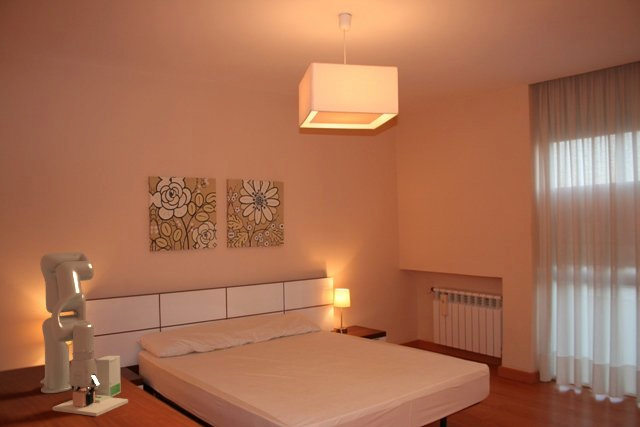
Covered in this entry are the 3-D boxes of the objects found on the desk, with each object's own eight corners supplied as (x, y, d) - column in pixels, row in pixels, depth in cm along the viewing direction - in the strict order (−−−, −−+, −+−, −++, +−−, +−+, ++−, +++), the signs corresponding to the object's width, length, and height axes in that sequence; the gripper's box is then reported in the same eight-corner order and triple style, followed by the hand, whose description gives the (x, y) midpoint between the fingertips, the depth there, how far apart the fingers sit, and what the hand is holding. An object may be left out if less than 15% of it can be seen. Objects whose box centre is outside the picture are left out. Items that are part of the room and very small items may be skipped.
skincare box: (109, 398, 206) (108, 360, 207) (95, 398, 208) (94, 359, 208) (121, 392, 214) (120, 355, 215) (107, 391, 216) (107, 354, 216)
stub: (72, 405, 194) (72, 392, 194) (85, 400, 200) (85, 387, 200) (82, 406, 192) (82, 393, 192) (95, 401, 198) (95, 388, 198)
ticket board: (52, 410, 194) (52, 404, 194) (86, 397, 209) (86, 391, 209) (96, 416, 186) (96, 409, 186) (128, 402, 201) (128, 396, 201)
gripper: (59, 356, 196) (59, 404, 196) (92, 359, 190) (93, 408, 189) (75, 352, 203) (75, 398, 203) (107, 354, 197) (108, 402, 196)
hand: (84, 402), depth 196 cm, fingers closed on stub, 5 cm apart
